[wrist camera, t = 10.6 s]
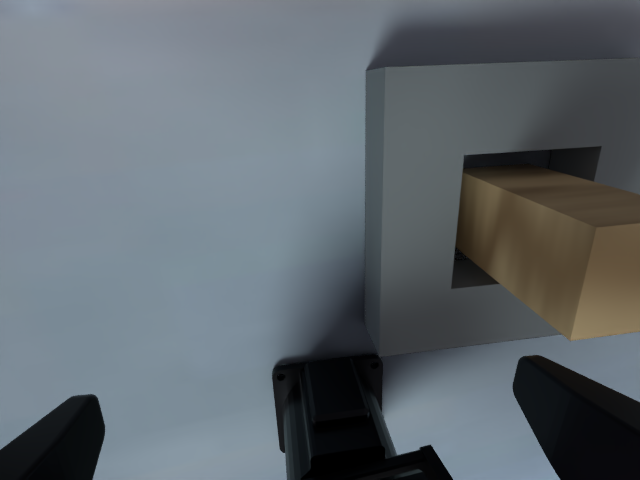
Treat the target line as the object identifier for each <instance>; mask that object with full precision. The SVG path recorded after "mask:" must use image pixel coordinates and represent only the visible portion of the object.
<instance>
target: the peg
mask: <svg viewBox="0 0 640 480" xmlns="http://www.w3.org/2000/svg"><path fill="white" fill-rule="evenodd" d="M455 247H456V248H457V249H458V250H459V251H461V252H462V253H463V254H464V255H466V256H467V257H468V258H469V259H470V260H472V261H473V262H474V263H475V264H477V265H478V266H479V267H480V268H481V269H483V270H484V271H485V272H486V273H488V274H489V275H490V276H491V277H492V278H494V279H495V280H496V281H497V282H499V283H500V284H501V285H502V286H503V287H505V288H506V289H507V290H508V291H510V292H511V293H512V294H513V295H514V296H516V297H517V298H518V299H519V300H521V301H522V302H523V303H524V304H526V305H527V306H528V307H529V308H530V309H532V310H533V311H534V312H535V313H537V314H538V315H539V316H540V317H541V318H543V319H544V320H545V321H546V322H548V323H549V324H550V325H551V326H552V327H554V328H555V329H556V330H557V331H559V332H560V333H561V334H562V335H563V336H565V337H566V338H567V339H568V340H570V341H573V340H580V339H588V338H595V337H603V336H610V335H617V334H625V333H632V332H640V194H636V193H633V192H629V191H625V190H622V189H618V188H615V187H611V186H607V185H604V184H600V183H597V182H593V181H589V180H586V179H582V178H578V177H575V176H571V175H568V174H564V173H560V172H557V171H553V170H550V169H546V168H542V167H539V166H535V165H532V164H528V163H527V164H514V165H501V166H489V167H476V168H463V172H462V182H461V192H460V202H459V213H458V223H457V233H456V243H455Z"/></svg>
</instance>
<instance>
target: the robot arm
mask: <svg viewBox="0 0 640 480" xmlns="http://www.w3.org/2000/svg"><path fill="white" fill-rule="evenodd" d="M373 362H376V363H375V364H371V363H373ZM278 374H284V375H283V376H278ZM382 375H383V363H382V360H381V358H380V357H379V355H376V354H370V355H362V356H354V357H346V358H338V359H329V360H321V361H313V362H305V363H297V364H289V365H281V366H277V367H275V368H274V369H273V371H272V380H273V389H274V399H275V408H276V417H277V427H278V436H279V445H280V450H281V451H282V452H283V453H285V456H286V473H287V480H453V479H452V477H451V475H450V474H449V472H448V471H447V469H446V468H445V466H444V465H443V463H442V461H441V460H440V458H439V457H438V455H437V454H436V452H435V451H434V449H433V447H432V446H431V445H427V446H423V447H420V450H416V451H413V452H409V453H405V454H401V455H397V453H396V451H395V448H394V445H393V442H392V440H391V437H390V434H389V431H388V429H387V426H386V423H385V421H384V418H383V415H382ZM513 392H514V396H515V398H516V400H517V402H518V404H519V405H520V407H521V409H522V411H523V413H524V415H525V417H526V419H527V421H528V423H529V425H530V426H531V428H532V430H533V432H534V434H535V436H536V438H537V440H538V442H539V444H540V446H541V447H542V449H543V451H544V453H545V455H546V457H547V458H548V460H549V462H550V464H551V465H552V467H553V469H554V470H555V472H556V473H557V475H558V477H559V478H560V480H640V402H638V401H636V400H634V399H632V398H629V397H627V396H625V395H623V394H621V393H619V392H617V391H615V390H612V389H610V388H608V387H606V386H604V385H602V384H600V383H598V382H596V381H593V380H591V379H589V378H587V377H585V376H583V375H581V374H579V373H576V372H574V371H572V370H570V369H568V368H566V367H564V366H562V365H559V364H557V363H555V362H553V361H551V360H549V359H547V358H545V357H542V356H539V355H533V356H523V357H521V358H520V359H519V361H518V365H517V369H516V373H515V377H514V382H513ZM104 436H105V424H104V420H103V416H102V412H101V408H100V405H99V401H98V398H97V397H96V396H95V395H93V394H88V395H77V396H72V397H70V398H69V399H67V400H66V401H65V402H63V403H62V404H61V405H59V406H58V407H57V408H55V409H54V410H53V411H51V412H50V413H49V414H47V415H46V416H45V417H43V418H42V419H41V420H39V421H38V422H37V423H35V424H34V425H33V426H31V427H30V428H29V429H27V430H26V431H25V432H23V433H22V434H21V435H19V436H18V437H17V438H15V439H14V440H13V441H11V442H10V443H9V444H7V445H6V446H5V447H3V448H2V449H1V450H0V480H92V479H93V476H94V472H95V469H96V465H97V461H98V458H99V454H100V451H101V447H102V444H103V440H104Z"/></svg>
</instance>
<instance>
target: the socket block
mask: <svg viewBox="0 0 640 480" xmlns="http://www.w3.org/2000/svg"><path fill="white" fill-rule="evenodd" d="M550 149H552V153H551V159H550V165H549V169H550V170H553V171H557V172H560V173H564V174H568V175H571V176H575V177H578V178H582V179H586V180H589V181H593V182H597V183H600V184H604V185H607V186H611V187H615V188H618V189H622V190H625V191H629V192H633V193H636V194H640V58H619V59H591V60H564V61H537V62H510V63H483V64H456V65H429V66H402V67H383V68H378V69H373V70H368V71H366V145H365V326H366V328H367V330H368V332H369V335H370V337H371V339H372V342H373V344H374V346H375V349H376V351H377V353H378V355H379V357H384V356H392V355H400V354H408V353H416V352H424V351H432V350H440V349H448V348H457V347H465V346H473V345H481V344H489V343H497V342H505V341H513V340H521V339H529V338H537V337H545V336H553V335H561V333H560V332H559V331H557V330H556V329H555V328H554V327H552V326H551V325H550V324H549V323H548V322H546V321H545V320H544V319H543V318H541V317H540V316H539V315H538V314H537V313H535V312H534V311H533V310H532V309H530V308H529V307H528V306H527V305H526V304H524V303H523V302H522V301H521V300H519V299H518V298H517V297H516V296H514V295H513V294H512V293H511V292H510V291H508V290H507V289H506V288H505V287H503V286H502V285H501V284H500V283H499V282H497V281H496V280H495V279H494V278H492V277H491V276H490V275H489V274H488V273H486V272H485V271H484V270H483V269H481V268H480V267H479V266H478V265H477V264H475V263H474V262H473V261H472V260H470V259H465V260H455V261H454V254H455V243H456V233H457V223H458V213H459V202H460V192H461V182H462V172H463V161H464V155H473V154H489V153H504V152H519V151H535V150H550Z"/></svg>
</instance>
